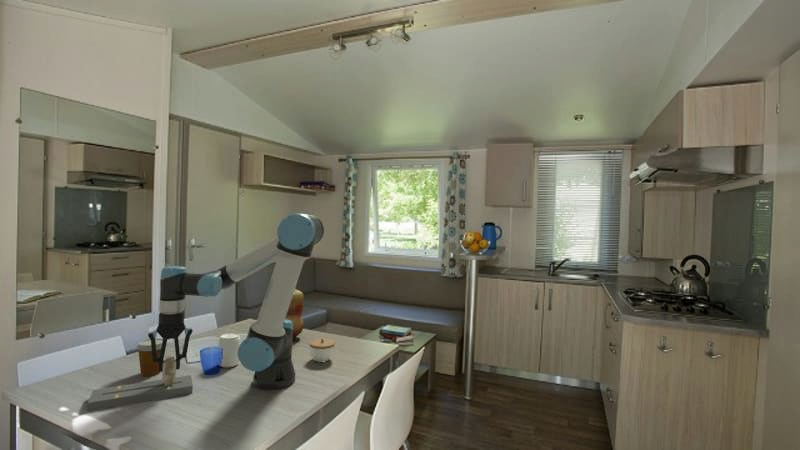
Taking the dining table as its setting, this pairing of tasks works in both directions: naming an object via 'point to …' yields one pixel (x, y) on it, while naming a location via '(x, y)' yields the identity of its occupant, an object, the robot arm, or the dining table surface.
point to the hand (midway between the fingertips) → (168, 379)
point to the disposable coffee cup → (149, 357)
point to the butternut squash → (296, 312)
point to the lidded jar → (321, 349)
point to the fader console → (138, 393)
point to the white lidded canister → (230, 349)
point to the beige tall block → (169, 370)
